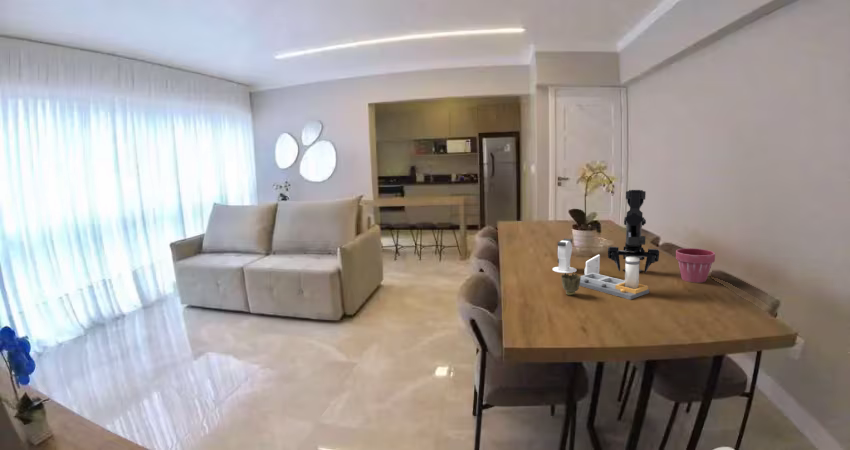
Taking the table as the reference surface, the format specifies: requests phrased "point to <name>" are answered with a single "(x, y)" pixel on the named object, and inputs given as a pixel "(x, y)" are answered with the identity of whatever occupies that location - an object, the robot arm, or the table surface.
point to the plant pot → (694, 264)
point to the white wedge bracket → (592, 265)
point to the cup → (570, 283)
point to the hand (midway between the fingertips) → (632, 271)
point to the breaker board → (612, 286)
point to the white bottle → (632, 272)
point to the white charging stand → (564, 257)
